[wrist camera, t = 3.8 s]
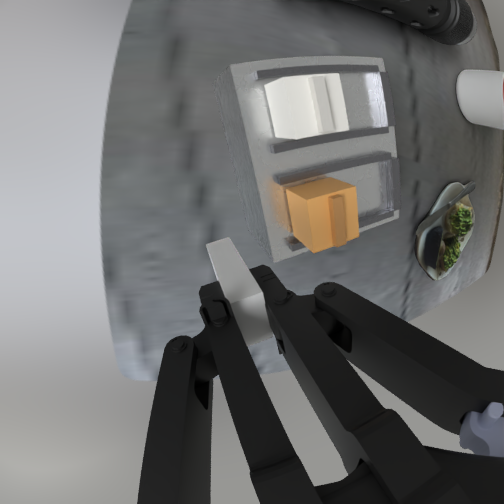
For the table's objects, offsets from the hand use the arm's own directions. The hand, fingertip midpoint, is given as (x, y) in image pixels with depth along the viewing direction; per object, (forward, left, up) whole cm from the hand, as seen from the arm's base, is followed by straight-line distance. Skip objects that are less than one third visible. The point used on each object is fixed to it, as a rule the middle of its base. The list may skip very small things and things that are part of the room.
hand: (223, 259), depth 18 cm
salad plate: (-38, +15, -13) cm, 43 cm away
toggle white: (-8, -8, -4) cm, 12 cm away
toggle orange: (-8, 0, -4) cm, 9 cm away
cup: (-47, -9, -12) cm, 50 cm away
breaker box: (-11, -4, -12) cm, 17 cm away
